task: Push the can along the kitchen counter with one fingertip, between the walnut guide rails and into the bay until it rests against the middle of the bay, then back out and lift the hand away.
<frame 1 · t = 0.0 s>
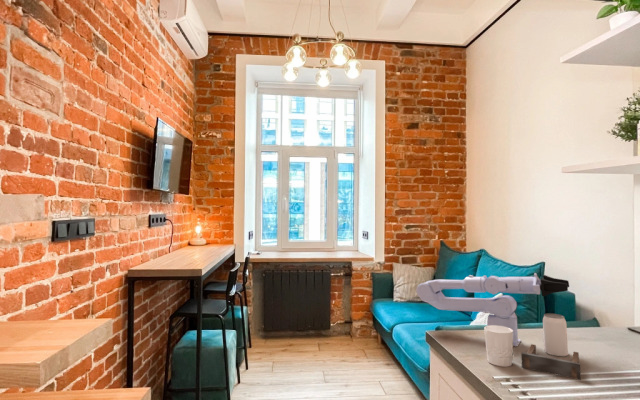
hand: (568, 285, 117), 22 cm above the kitchen counter, tool horizontal, fingers open, 7 cm apart
bay: (552, 365, 106), on the kitchen counter
can: (556, 354, 116), on the kitchen counter
white cup: (499, 363, 109), on the kitchen counter
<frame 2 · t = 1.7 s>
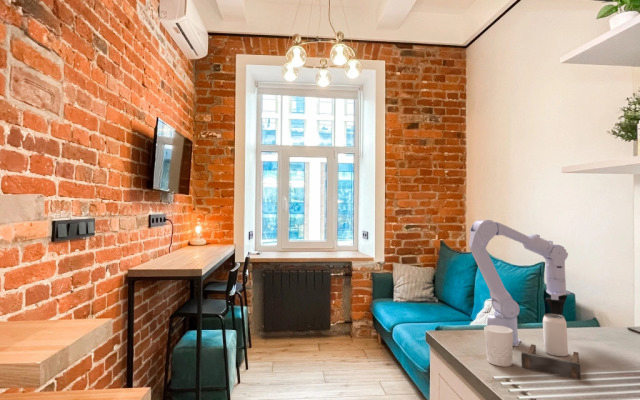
hand: (557, 317, 126), 9 cm above the kitchen counter, tool pointing down, fingers open, 7 cm apart
nothing on the kitchen counter moved.
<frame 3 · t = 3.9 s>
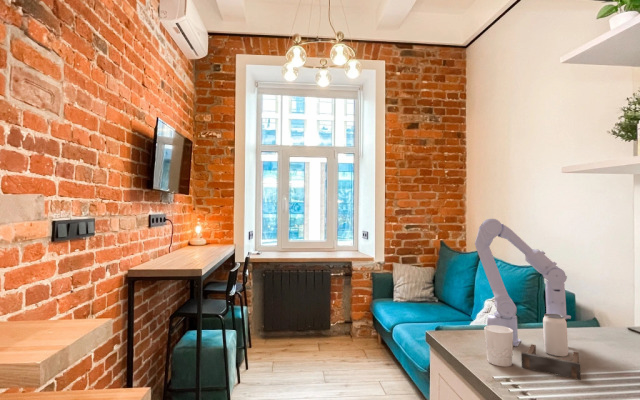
hand: (557, 342, 121), 2 cm above the kitchen counter, tool pointing down, fingers open, 5 cm apart
can: (556, 353, 116), on the kitchen counter, touching gripper
everything else where it was.
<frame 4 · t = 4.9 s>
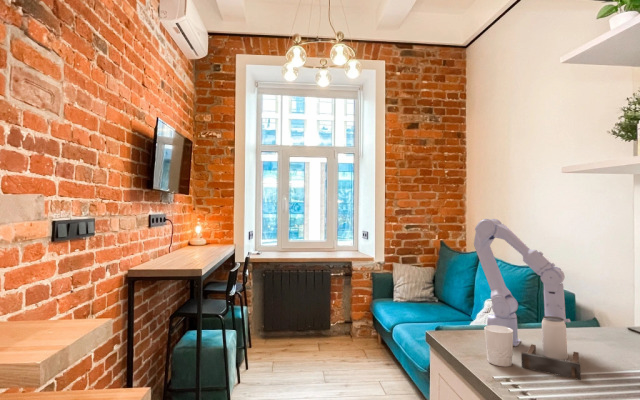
hand: (556, 346, 117), 2 cm above the kitchen counter, tool pointing down, fingers closed
can: (555, 357, 112), on the kitchen counter, touching gripper
everything else where it was.
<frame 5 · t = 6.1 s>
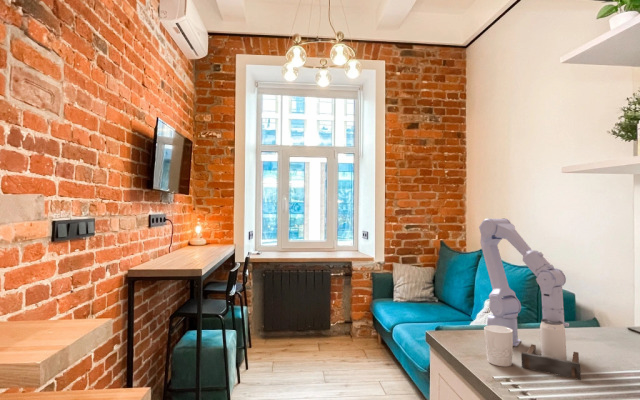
hand: (555, 351, 112), 2 cm above the kitchen counter, tool pointing down, fingers closed, pressing on can
can: (554, 361, 109), on the kitchen counter, touching gripper
everything else where it was.
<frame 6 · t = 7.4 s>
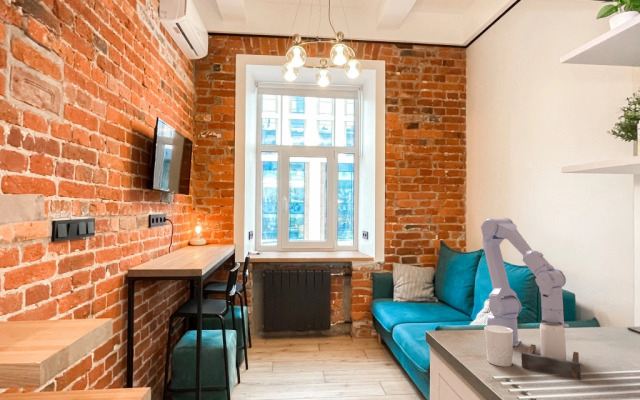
hand: (554, 353, 111), 2 cm above the kitchen counter, tool pointing down, fingers closed, pressing on can
can: (553, 363, 108), on the kitchen counter, touching gripper
everything else where it was.
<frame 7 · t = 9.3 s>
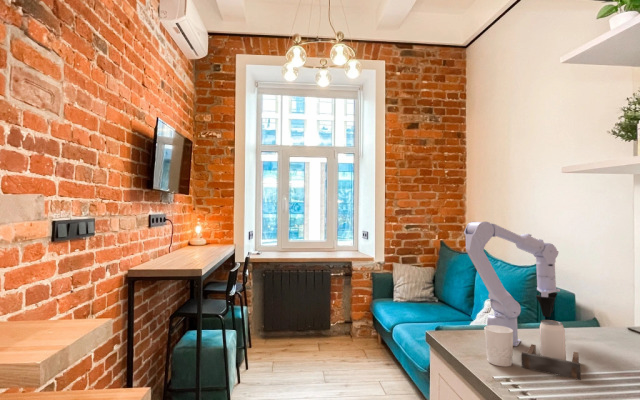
hand: (547, 314, 128), 9 cm above the kitchen counter, tool pointing down, fingers open, 7 cm apart
can: (553, 363, 108), on the kitchen counter
everything else where it was.
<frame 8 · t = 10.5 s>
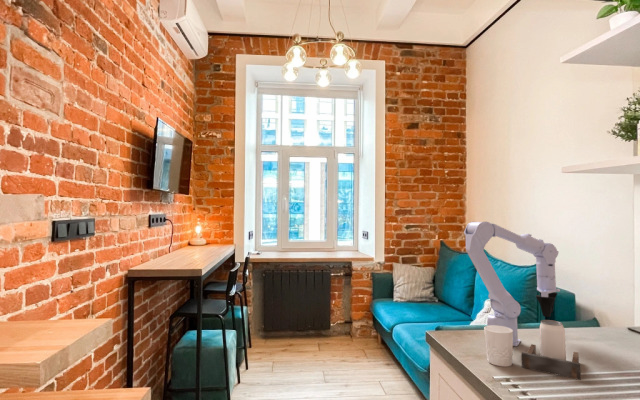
hand: (547, 314, 128), 9 cm above the kitchen counter, tool pointing down, fingers open, 7 cm apart
nothing on the kitchen counter moved.
at the end: can inside the target area on the bay (3.4 cm from its centre), point 0.0 cm above the bay's base; can tilted 0° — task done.
